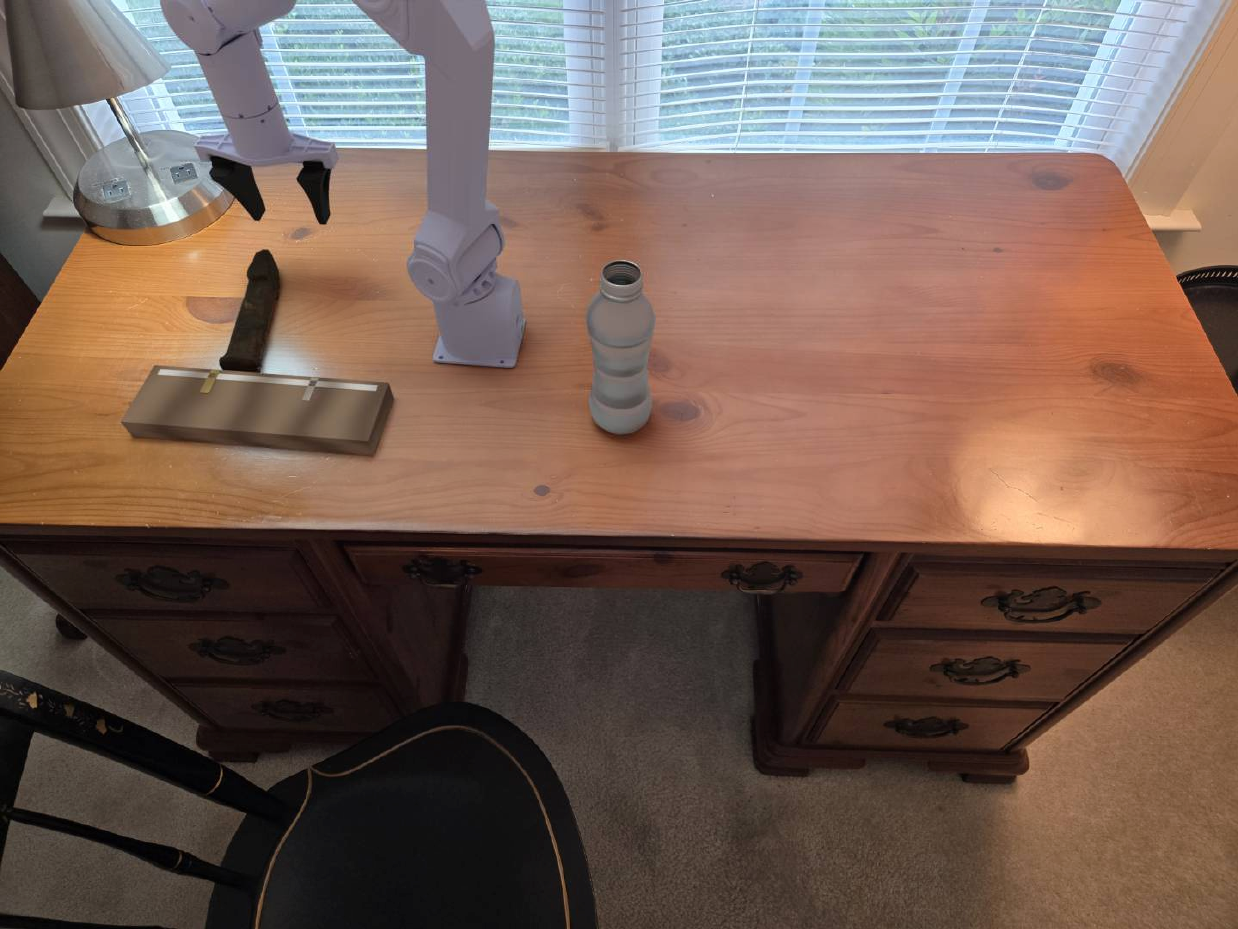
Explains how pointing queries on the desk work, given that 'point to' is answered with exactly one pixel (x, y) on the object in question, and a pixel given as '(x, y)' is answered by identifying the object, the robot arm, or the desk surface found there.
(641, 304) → the plastic bottle
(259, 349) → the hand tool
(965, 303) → the desk surface
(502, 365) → the robot arm
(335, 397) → the grey brown flat box
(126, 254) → the desk surface
